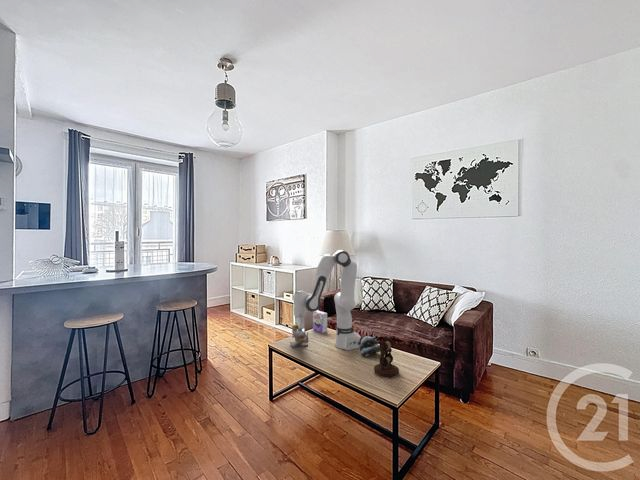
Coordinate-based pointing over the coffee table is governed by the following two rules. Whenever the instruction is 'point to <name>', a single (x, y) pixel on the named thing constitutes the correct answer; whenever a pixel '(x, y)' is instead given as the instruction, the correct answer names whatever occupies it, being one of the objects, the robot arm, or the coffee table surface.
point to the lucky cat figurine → (368, 345)
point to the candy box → (320, 321)
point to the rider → (300, 332)
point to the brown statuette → (386, 360)
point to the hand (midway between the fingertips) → (299, 331)
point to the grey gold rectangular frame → (298, 338)
